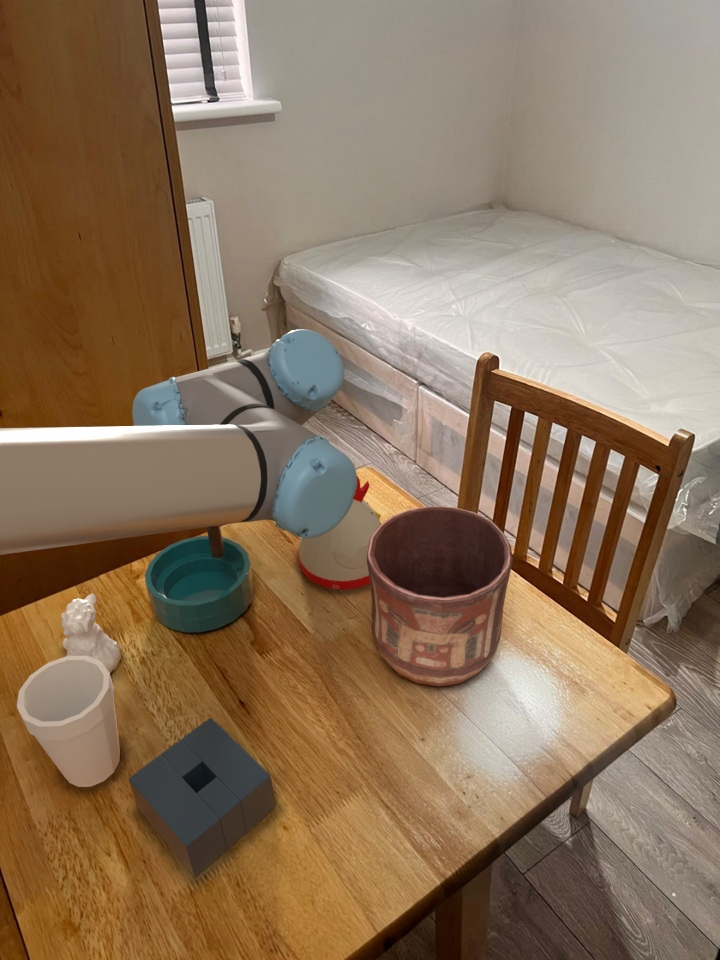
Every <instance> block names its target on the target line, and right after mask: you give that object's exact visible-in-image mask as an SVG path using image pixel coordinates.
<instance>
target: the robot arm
mask: <svg viewBox="0 0 720 960" xmlns="http://www.w3.org/2000/svg"><path fill="white" fill-rule="evenodd" d="M344 379H345V365H344V362H343V360H342V357H341V354H340V353H339V351H338V350H337V348H336V347H335V346H334V344H333V343H332V342H331V341H330V340H329V339H328V338H326V337H325V336H324V335H322V334H321V333H318V332H316V331H313V330H310V329H301V328H300V329H295V330H290V331H289V332H287V333H285V334H284V335H282V336H281V337H280V338H279V339H276V340H275V342H273V343H272V344H271V346H270V347H269V349H268V350H266V351H264V352H261V353H258V354H253V355H251V356H250V355H249V356H247V357H244V358H241V359H238V360H235V361H233V362H229V363H225V364H224V363H223V364H221V365H217V366H214V367H209V368H206V369H203V370H199V371H195V372H191V373H187V374H184V375H180V376H176V377H175V376H171V377H169V379H167V380H164V381H161V382H158V383H156V384H153V385H151V386H148V387H145V388H143V389H141V390H139V391H138V392H137V394H136V395H135V397H134V399H133V402H132V411H131V414H132V422H133V425H132V426H129V425H128V426H73V427H72V426H63V427H61V426H58V427H53V426H51V427H0V556H3V555H9V554H15V553H17V554H18V553H25V552H31V551H39V550H47V549H54V548H61V547H69V546H76V545H84V544H89V543H90V544H91V543H99V542H105V541H113V540H119V539H120V540H122V539H129V538H135V537H143V536H150V535H151V536H152V535H158V534H165V533H175V532H179V531H181V532H182V531H187V530H194V529H196V530H197V529H203V528H207V527H211V526H218V525H220V526H224V525H226V526H227V525H232V524H240V523H253V522H259V521H272V522H274V523H275V526H276V527H277V528H279V529H280V530H281V531H287V532H288V533H290V534H291V535H293V536H295V537H297V538H300V539H301V538H305V539H310V538H316V537H319V536H322V535H324V534H325V533H327V532H329V531H330V530H332V529H333V528H334V527H336V526H337V525H338V524H339V523H340V522H341V521H342V519H343V518H344V517H345V515H346V514H347V512H348V511H349V509H350V507H351V505H352V503H353V496H354V495H355V491H356V489H357V476H358V474H357V469H356V467H355V465H354V463H353V461H352V460H351V459H350V458H349V457H348V456H347V455H346V454H345V453H344V452H342V451H341V450H340V449H338V448H337V447H335V446H334V445H333V444H332V443H330V441H329V440H328V438H327V437H325V436H322V435H319V434H316V433H315V432H313V431H311V430H309V429H308V428H306V427H305V426H303V425H304V424H305V423H307V422H308V421H309V420H310V419H311V418H313V417H314V416H315V415H316V414H317V413H319V411H323V410H324V409H326V408H327V406H328V405H329V404H330V402H331V401H332V400H333V399H334V397H335V396H337V394H338V393H339V392H340V390H341V389H342V386H343V384H344Z"/></svg>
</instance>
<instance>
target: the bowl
mask: <svg viewBox="0 0 720 960" xmlns="http://www.w3.org/2000/svg"><path fill="white" fill-rule="evenodd" d="M222 541H223V547H224V553H225V554H224V556H223V557H221V558H213V557H212V554H211V549H210V543H209V538H208V535H197V536H194V537H189V538H184V539H181V540H179V541H176V542H175V543H172V544H169V545H168V546H166V547H165V548H163V549H161V551H159V552H157V554H156V555H155V556H154V557H153V558H152V559H151V560H150V562H149V563H148V565H147V568H146V570H145V573H144V580H145V587H146V591H147V595H148V599H149V603H150V607H151V610H152V611H151V612H152V614H153V615H154V616H155V618H156V619H157V621H158V622H159V623H160V624H162V625H164V626H166V627H167V628H168V629H170V630H173V631H179V632H182V633H204V632H209V631H213V630H217V629H220V628H222V627H224V626H226V625H228V624H230V623H232V622H234V621H235V620H236V619H238V618H239V617H240V616H241V615H243V614H244V613H245V612H246V611H247V609H248V607H249V605H251V603H252V601H253V598H254V593H255V592H254V591H255V585H254V578H253V571H252V565H251V559H250V556H249V553H248V552H247V550H246V549H245V548H244V547H243V546H242V545H241V544H239V543H237V542H236V541H234V540H232V539H231V538H226V537H222Z"/></svg>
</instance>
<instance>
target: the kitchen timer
mask: <svg viewBox="0 0 720 960" xmlns="http://www.w3.org/2000/svg"><path fill="white" fill-rule="evenodd" d="M369 488H370V482H369V481H368V480H366V482H365V483H364V485H362V486H361V480H360V478H359V475H357V489H356V491H355V495H354V496H353V503H352V505H351V507H350V509H349V511H348V512H347V514H346V515H345V517H344V518H343V519H342V521H341V522H340V523H339V524H338V525H337V526H336V527H334V528H333V529H332V530H330V531H329V532H327V533H325V534H324V535H322V536H319V537H316V538H310V539H305V538H301V537H300V541H299V547H298V561H299V566H300V569H301V572H302V573H303V575H305V577H306V578H307V579H308V580H309V581H311V582H313V583H314V584H316V585H318V586H320V587H324V588H327V589H333V590H342V591H343V590H353V589H358V588H362V587H364V586H367V585H369V584H370V577H369V571H368V566H367V552H368V545H369V539H370V538H371V536H372V535H373V534H374V532H375V531H376V529H377V528H378V527H379V525H381V524H382V523H381V514H380V513H379V512H377V511H376V510H374V508H372V507H371V505H370V504H369V503H368V502H366V500H364V499H365V497H366V496H367V495H366V494H367V493H368V491H369Z"/></svg>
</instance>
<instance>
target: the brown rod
mask: <svg viewBox="0 0 720 960" xmlns="http://www.w3.org/2000/svg"><path fill="white" fill-rule="evenodd" d="M206 533H207V536H208V538H209V543H210V549H211V554H212V557H213V558H221V557H223V556H224V554H225V553H224V547H223V541H222V538H223V536H222V529H221V525H218V526H211V527H206Z"/></svg>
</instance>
